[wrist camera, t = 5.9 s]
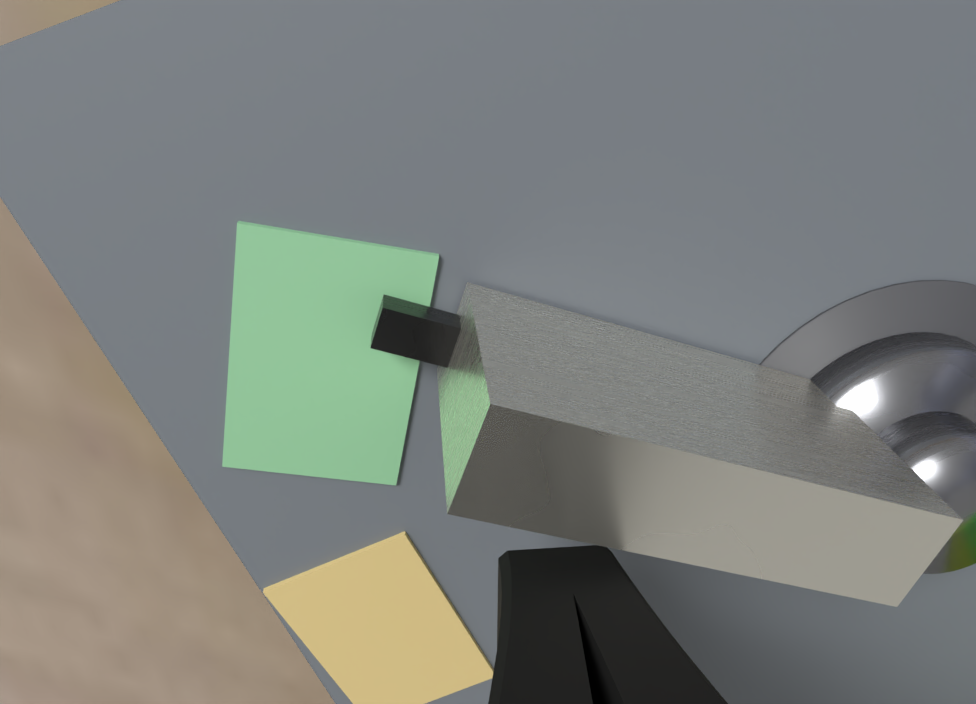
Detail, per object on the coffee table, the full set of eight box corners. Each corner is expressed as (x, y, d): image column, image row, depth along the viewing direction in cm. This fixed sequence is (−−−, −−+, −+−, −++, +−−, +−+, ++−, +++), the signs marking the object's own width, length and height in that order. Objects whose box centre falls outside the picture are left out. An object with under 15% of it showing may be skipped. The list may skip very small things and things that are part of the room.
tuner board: (1151, -382, 8) (1268, -437, 7) (1069, 639, 17) (1118, 688, 16) (-25, 65, 9) (-86, 77, 8) (447, 823, 18) (450, 882, 17)
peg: (1057, 368, 12) (1266, 496, 9) (916, 556, 13) (1053, 715, 10) (420, 167, 9) (424, 253, 6) (342, 426, 11) (319, 586, 8)
